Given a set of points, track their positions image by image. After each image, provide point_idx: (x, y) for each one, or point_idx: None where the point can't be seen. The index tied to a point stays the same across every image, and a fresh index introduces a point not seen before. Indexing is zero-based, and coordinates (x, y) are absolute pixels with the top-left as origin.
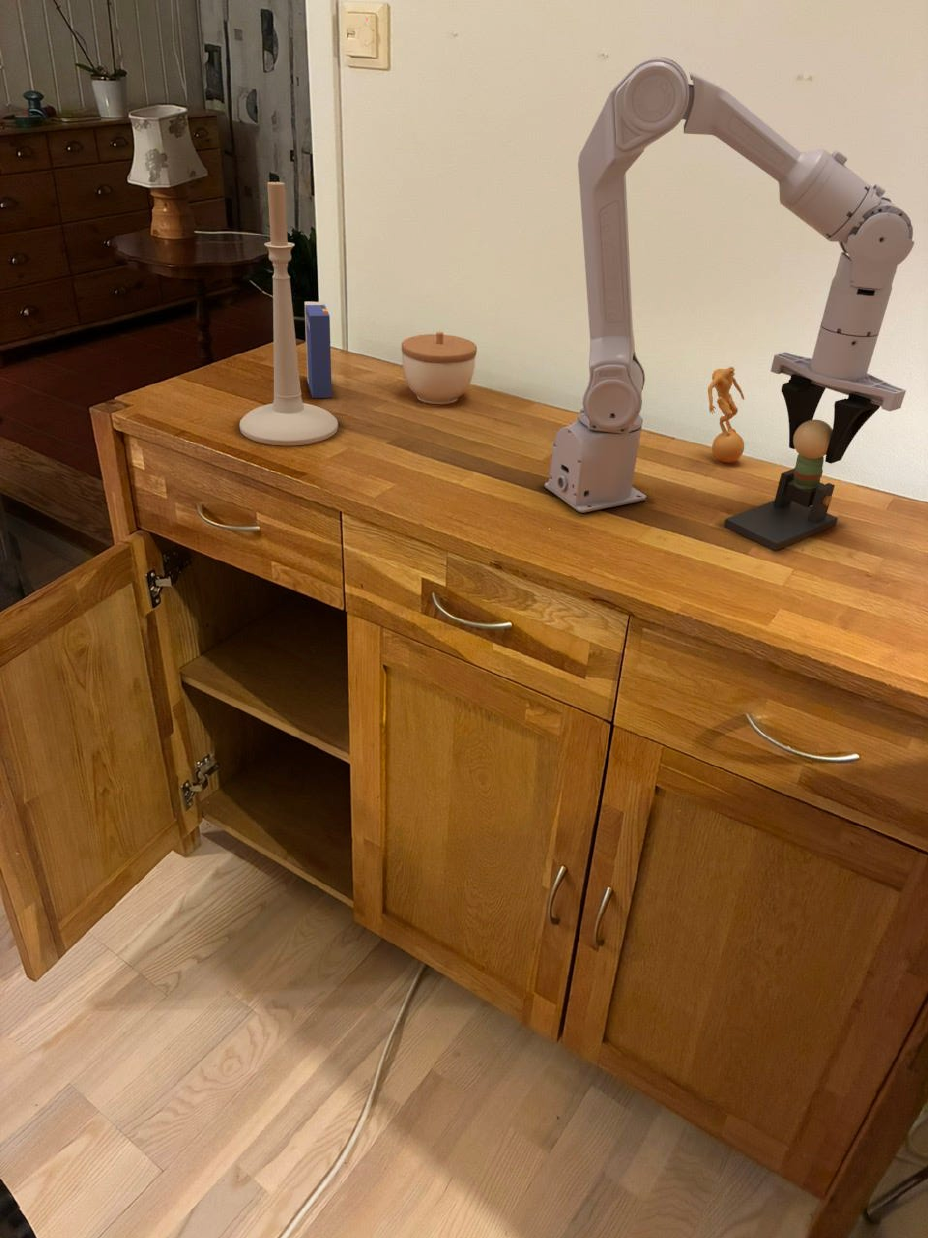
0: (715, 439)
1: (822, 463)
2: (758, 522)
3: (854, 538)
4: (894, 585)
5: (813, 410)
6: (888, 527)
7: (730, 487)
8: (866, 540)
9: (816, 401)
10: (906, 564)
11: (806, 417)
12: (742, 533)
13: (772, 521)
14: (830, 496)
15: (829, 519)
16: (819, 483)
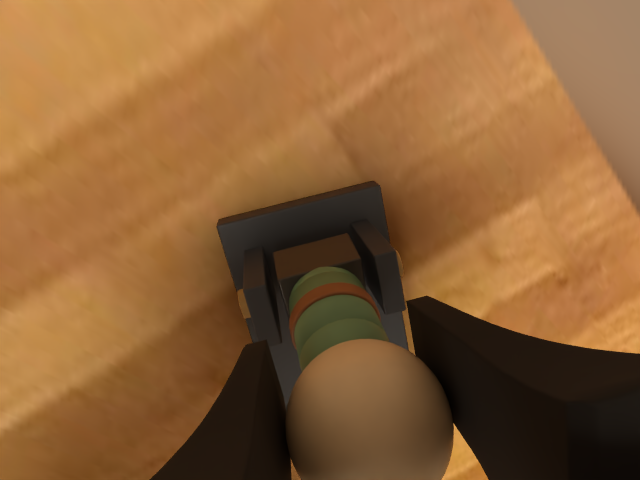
0: None
1: (386, 334)
2: None
3: (441, 185)
4: (611, 260)
5: (261, 438)
6: (438, 40)
7: (83, 297)
8: (461, 164)
9: (262, 477)
10: (578, 165)
11: (272, 453)
12: None
13: None
14: (401, 263)
15: (380, 217)
16: (350, 268)
